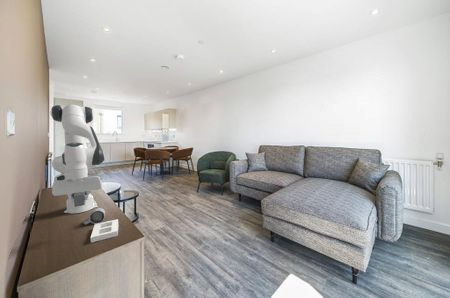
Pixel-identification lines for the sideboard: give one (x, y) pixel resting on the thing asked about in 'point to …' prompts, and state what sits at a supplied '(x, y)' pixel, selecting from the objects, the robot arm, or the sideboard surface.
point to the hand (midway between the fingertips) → (79, 200)
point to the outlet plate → (104, 230)
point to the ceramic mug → (96, 216)
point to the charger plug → (79, 199)
